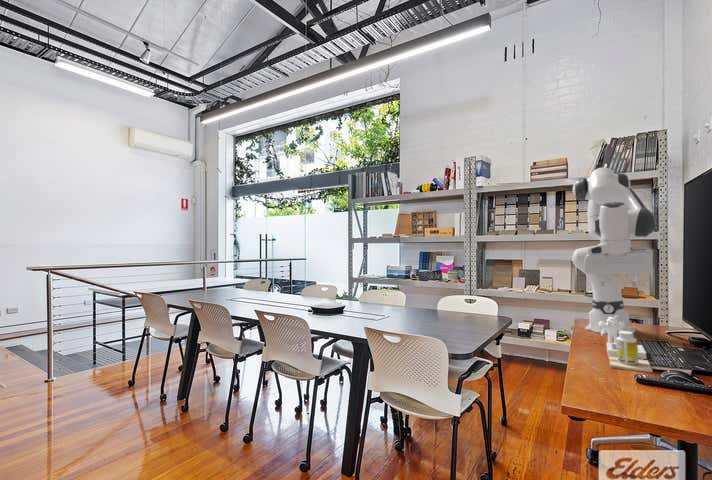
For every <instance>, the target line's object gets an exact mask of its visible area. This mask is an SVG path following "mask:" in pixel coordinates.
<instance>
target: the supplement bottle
mask: <svg viewBox="0 0 712 480" xmlns="http://www.w3.org/2000/svg"><path fill="white" fill-rule="evenodd" d="M616 340H617V352H618V361H619V362H621V363H624V364H630V365H633V364H637V363H638V352H637V345H638V341H637V339H636V338H635V337H634V332H629V331H619V334H618V337H617V339H616Z"/></svg>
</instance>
